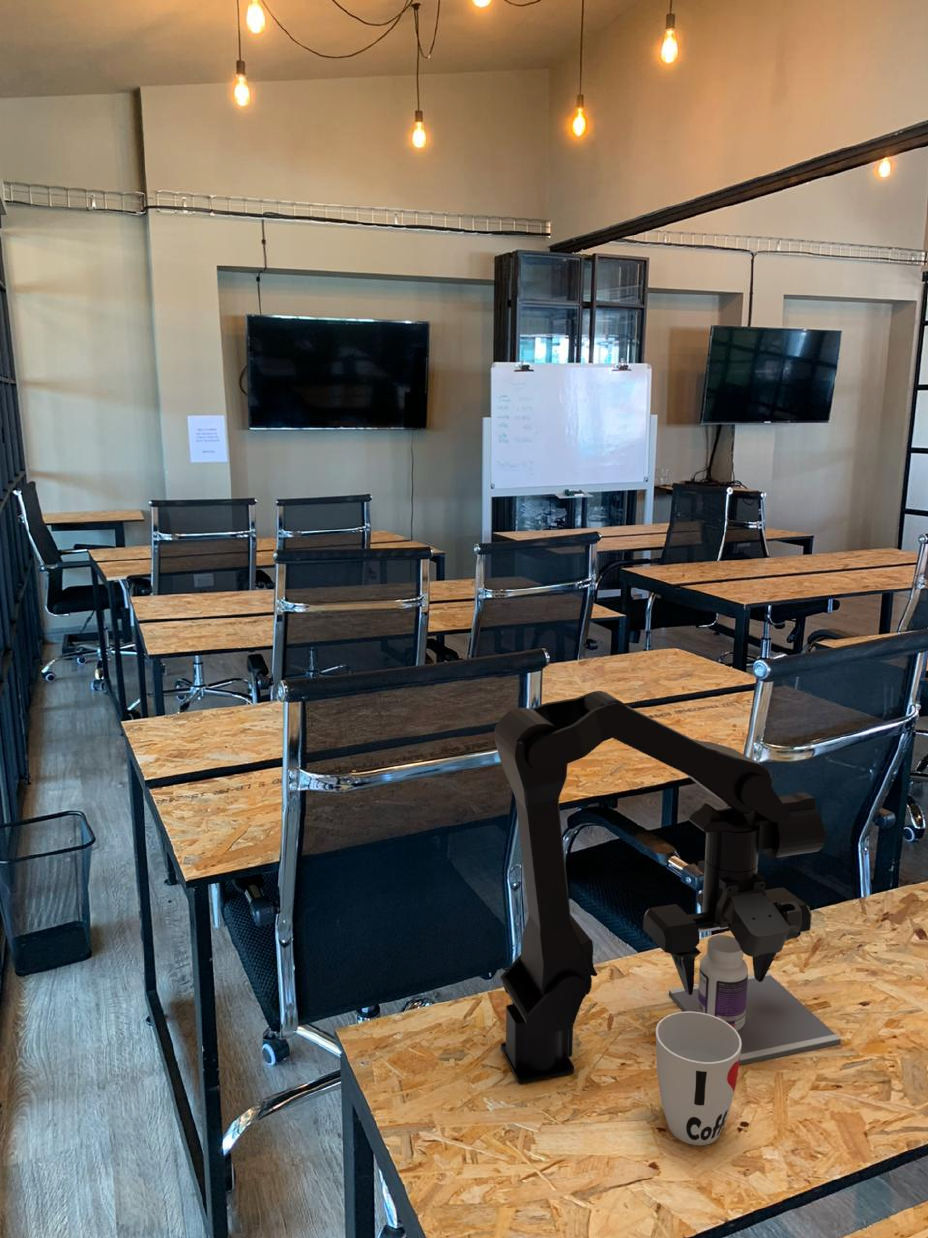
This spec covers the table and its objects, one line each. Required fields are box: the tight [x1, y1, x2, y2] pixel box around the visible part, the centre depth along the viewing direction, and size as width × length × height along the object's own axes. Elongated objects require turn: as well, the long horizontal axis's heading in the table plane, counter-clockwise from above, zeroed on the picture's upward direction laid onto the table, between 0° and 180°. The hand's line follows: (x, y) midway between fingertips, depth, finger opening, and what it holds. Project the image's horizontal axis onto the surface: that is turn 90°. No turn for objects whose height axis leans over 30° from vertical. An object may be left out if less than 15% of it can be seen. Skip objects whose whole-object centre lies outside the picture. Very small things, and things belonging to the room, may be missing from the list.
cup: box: [655, 1011, 742, 1146], centre depth 91 cm, size 8×8×10 cm
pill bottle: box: [698, 934, 749, 1031], centre depth 107 cm, size 5×5×10 cm
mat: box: [668, 971, 842, 1066], centre depth 109 cm, size 14×14×1 cm
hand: (723, 986), depth 107 cm, fingers open, 9 cm apart
